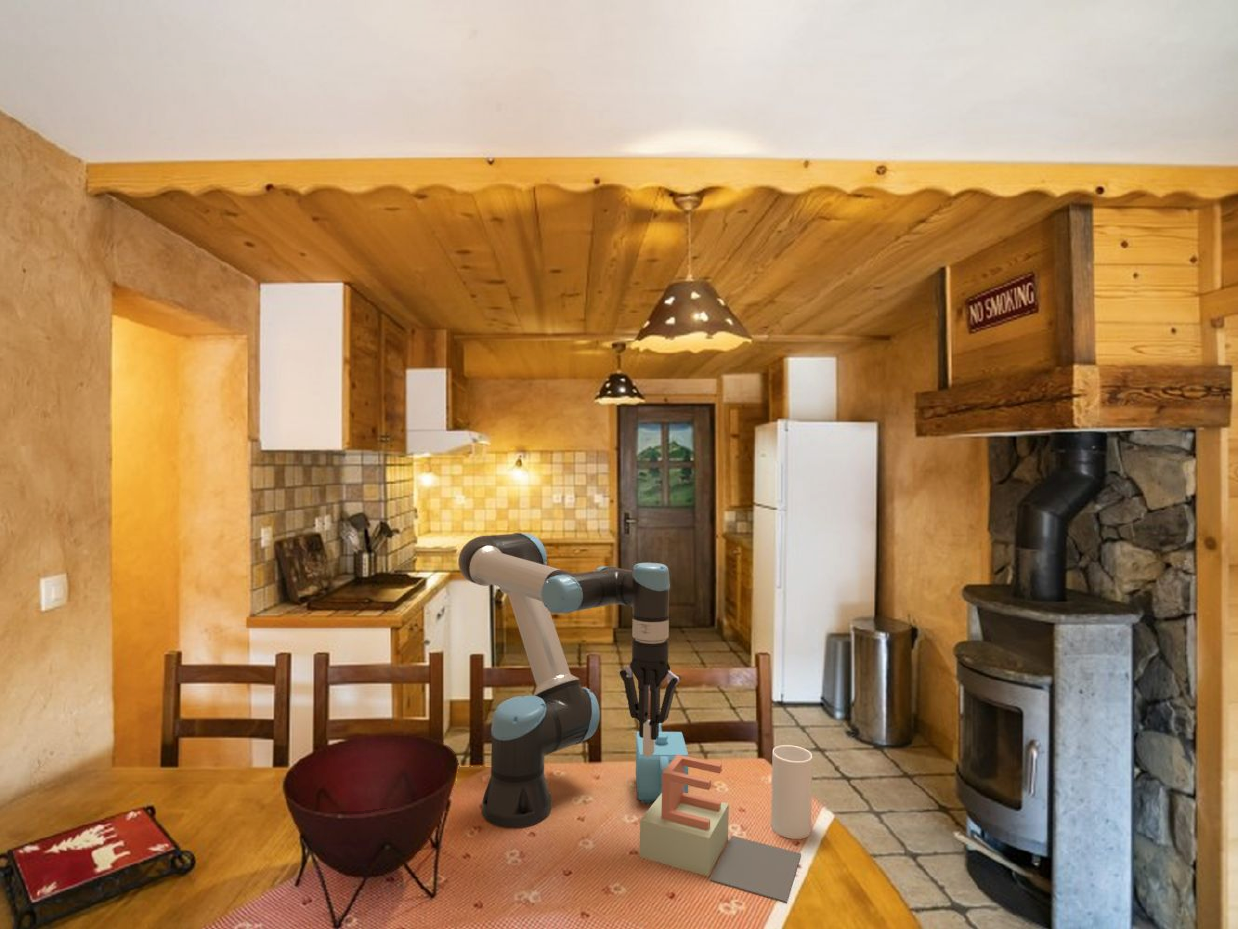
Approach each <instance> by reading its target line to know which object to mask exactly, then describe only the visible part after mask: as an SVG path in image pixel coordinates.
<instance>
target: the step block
mask: <svg viewBox="0 0 1238 929" xmlns="http://www.w3.org/2000/svg"><path fill="white" fill-rule="evenodd" d="M729 809H730V804H729V803H728V802H724V801H721V809H720V810H719V811H715V810H711V809H707V808H703V807H699V806H695V805H690V804H686V803H682V802H681V803H680V805H679V806H678V807H677V809H676V810H675V811H679V812H683V813H687V814H691V815H695V816H699V817H703V818H707V819H710V828H709V829H708V830H705V829H702V828H698V827H694V826H690V825H686V824H682V823H678V822H675V821H671V820H667V819H663V818H661V813H662V793H661V794H660V796H659V797H658V798H657V799H656V800H654V801H653V802H652V803H651V806H650V807H649V808H648V809H647V810H646V812H645V813H644V814H643V816H642V817H641V818H640V819H639V848H638V849H639V850H638V852H639V854H638V855H639V856H638V857H639V858H642V859H646V860H649V861H652V862H655V863H660V864H663V865H667V866H669V867H673V868H676V869H681V870H683V871H687V872H690V873H694V874H698V875H701V876H704V877H709V878H710V875H711V874H712V871H713V869H714V868H715V865H716V863H717V861H718V860H719V857H720V855H721V854H722V853H723V852H722V851H724V849H725V847H726V844H727V843H728V841H729V819H730V818H729V816H730V814H729V812H730V810H729Z"/></svg>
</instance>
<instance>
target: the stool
mask: <svg viewBox="0 0 1238 929" xmlns="http://www.w3.org/2000/svg"><path fill="white" fill-rule="evenodd" d="M684 766H687V767H688V768H691V769H696V770H701V771H706V772H711V773H716V774H718V775H719V774H721V773H722V770H723V769H722V766H723V763H720V762H715V761H711V760H706V759H702V758H695V757H692V756H689V757H687V756H682V755H677V756H676V757H675V758H674V759H673V760H672V762H671V763H670V764H669V765H668V766H667V767H666V769H665V770H664V771H663V772H662V813H661V818H663V819H667V820H671V821H675V822H678V823H682V824H686V825H690V826H694V827H698V828H702V829H705V830H708V829H709V828H710V819H707V818H703V817H699V816H695V815H691V814H687V813H683V812H679V811H675V810H676V809H677V807H678V806H679V805H680V803H681V802H682V803H686V804H690V805H695V806H699V807H703V808H707V809H711V810H715V811H719V810H720V809H721V802H722V801H721V800H716V799H713V798H708V797H704V796H700V795H696V794H691V793H689V792H688V793H684V785H688V787H693V788H697V789H701V790H707V791H710V789H711V788H712V779H709V778H704V777H700V776H695V775H691V774H689V773H688V774H684Z"/></svg>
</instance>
